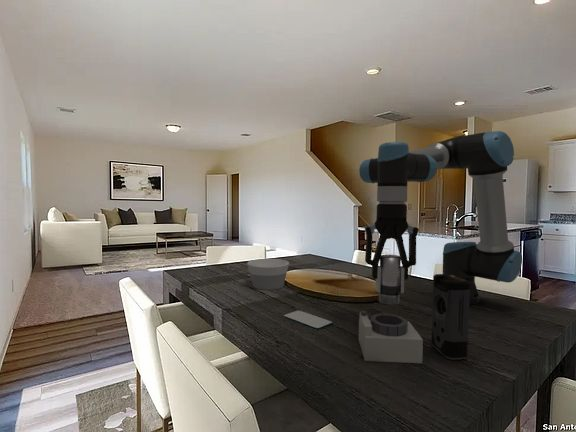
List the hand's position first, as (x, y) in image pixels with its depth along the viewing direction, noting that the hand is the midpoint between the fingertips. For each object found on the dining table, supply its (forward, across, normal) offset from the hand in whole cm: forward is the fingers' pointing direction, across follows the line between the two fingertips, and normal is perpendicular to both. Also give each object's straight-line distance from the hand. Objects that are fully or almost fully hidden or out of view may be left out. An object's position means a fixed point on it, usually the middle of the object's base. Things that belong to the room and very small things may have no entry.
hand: (389, 290), depth 88 cm
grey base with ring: (+16, 0, 0) cm, 16 cm away
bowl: (+17, +41, -61) cm, 75 cm away
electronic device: (+16, -16, -1) cm, 23 cm away
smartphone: (+17, +22, -20) cm, 34 cm away
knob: (+3, 0, 0) cm, 3 cm away
